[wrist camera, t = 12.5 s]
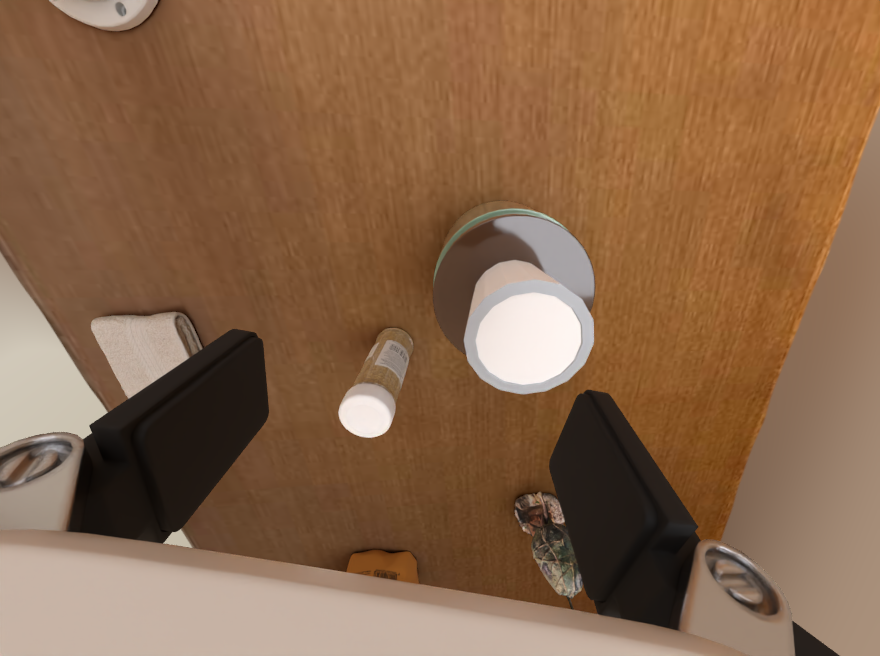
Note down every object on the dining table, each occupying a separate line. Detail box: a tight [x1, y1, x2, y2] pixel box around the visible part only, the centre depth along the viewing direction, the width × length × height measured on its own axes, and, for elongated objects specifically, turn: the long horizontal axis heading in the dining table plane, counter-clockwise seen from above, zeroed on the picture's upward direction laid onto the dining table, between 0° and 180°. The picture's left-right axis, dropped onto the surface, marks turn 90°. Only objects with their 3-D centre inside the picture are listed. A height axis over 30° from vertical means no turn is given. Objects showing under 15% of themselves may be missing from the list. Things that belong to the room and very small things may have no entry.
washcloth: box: [91, 312, 203, 399], centre depth 42 cm, size 12×18×3 cm, turn 5°
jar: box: [433, 201, 595, 355], centre depth 29 cm, size 12×12×12 cm
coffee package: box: [346, 550, 419, 584], centre depth 48 cm, size 10×12×22 cm
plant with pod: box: [514, 492, 583, 610], centre depth 40 cm, size 8×11×20 cm
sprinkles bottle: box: [339, 328, 413, 438], centre depth 33 cm, size 5×5×13 cm
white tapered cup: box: [464, 260, 594, 394], centre depth 20 cm, size 7×7×7 cm
